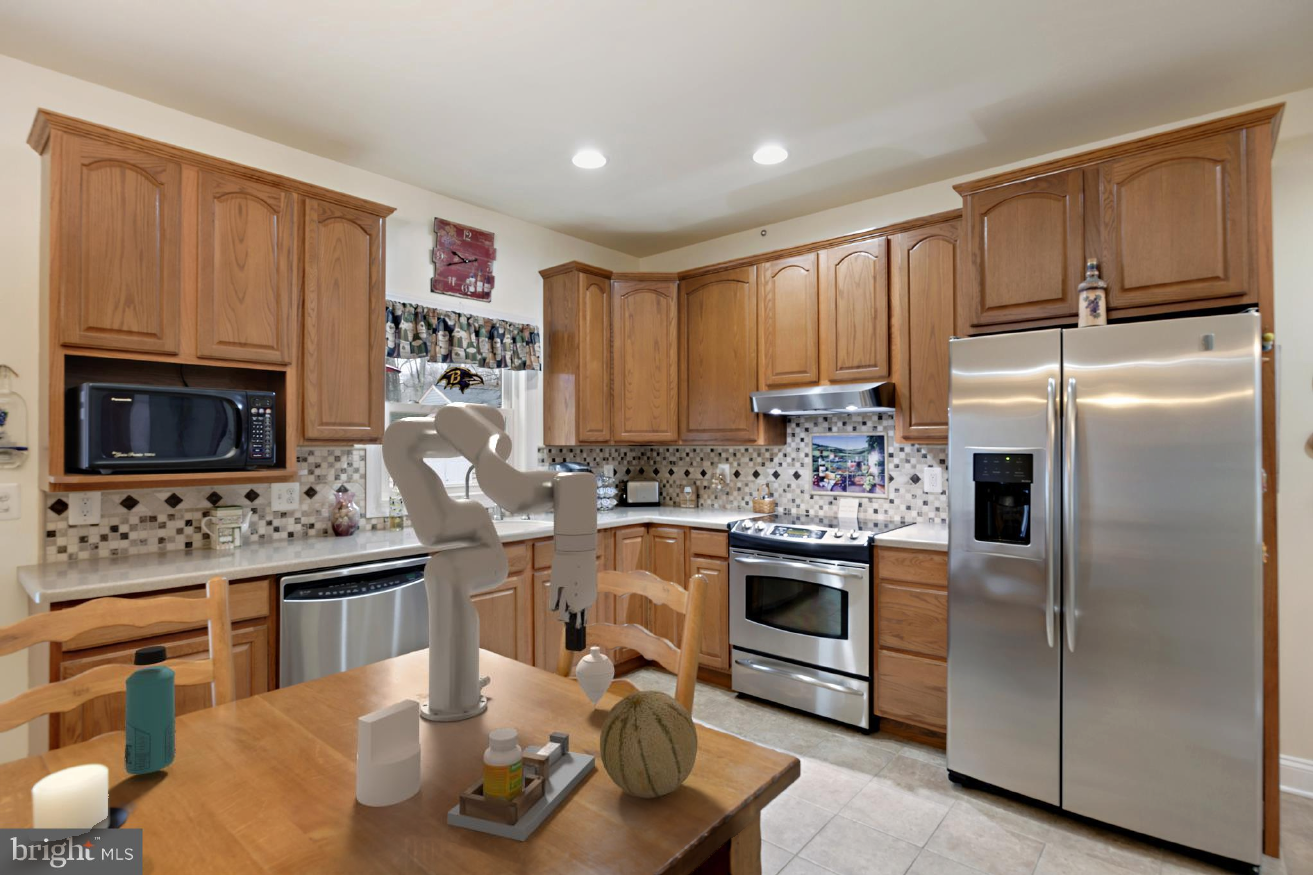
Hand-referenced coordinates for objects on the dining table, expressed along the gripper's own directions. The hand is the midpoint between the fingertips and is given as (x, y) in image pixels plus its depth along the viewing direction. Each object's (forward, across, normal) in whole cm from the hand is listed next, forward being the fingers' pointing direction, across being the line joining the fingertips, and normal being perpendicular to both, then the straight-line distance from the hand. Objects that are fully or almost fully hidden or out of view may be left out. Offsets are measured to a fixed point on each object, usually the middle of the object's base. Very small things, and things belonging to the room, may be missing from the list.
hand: (575, 649), depth 113 cm
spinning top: (+17, -17, -4) cm, 24 cm away
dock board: (+17, +16, 0) cm, 23 cm away
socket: (+15, +22, 0) cm, 27 cm away
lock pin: (+15, +10, 0) cm, 18 cm away
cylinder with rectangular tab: (+17, +22, -20) cm, 34 cm away
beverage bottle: (+17, +31, -59) cm, 69 cm away
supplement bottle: (+16, +22, 0) cm, 27 cm away
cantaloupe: (+17, +9, +17) cm, 26 cm away
